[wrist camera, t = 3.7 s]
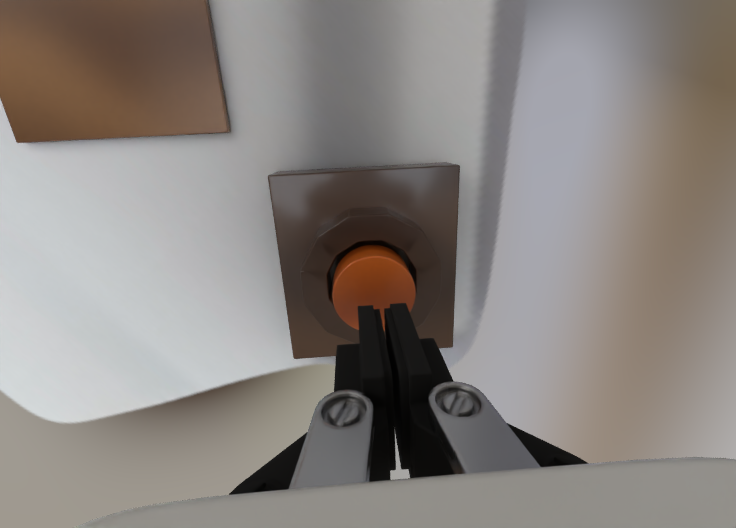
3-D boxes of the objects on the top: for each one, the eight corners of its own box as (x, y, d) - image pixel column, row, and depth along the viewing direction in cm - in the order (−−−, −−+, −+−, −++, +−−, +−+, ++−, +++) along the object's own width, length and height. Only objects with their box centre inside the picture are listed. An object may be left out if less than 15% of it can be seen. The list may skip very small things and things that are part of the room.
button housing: (276, 171, 18) (257, 179, 14) (447, 162, 18) (473, 167, 15) (298, 338, 21) (288, 380, 18) (443, 328, 22) (463, 367, 18)
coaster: (-74, -128, 14) (-86, -135, 13) (185, -133, 14) (180, -141, 14) (23, 142, 17) (16, 142, 16) (230, 132, 17) (228, 132, 17)
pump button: (330, 246, 16) (328, 259, 14) (408, 241, 16) (416, 253, 14) (336, 317, 17) (335, 335, 15) (409, 312, 17) (416, 329, 15)
